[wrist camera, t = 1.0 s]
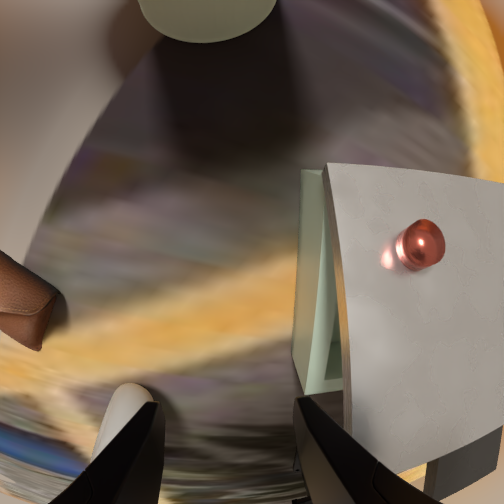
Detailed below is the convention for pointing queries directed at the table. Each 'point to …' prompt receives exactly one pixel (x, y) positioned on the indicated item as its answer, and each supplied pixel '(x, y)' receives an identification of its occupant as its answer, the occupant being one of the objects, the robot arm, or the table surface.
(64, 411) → the table surface
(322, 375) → the shallow mint tray
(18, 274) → the sunglasses case
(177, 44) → the table surface
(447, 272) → the lid
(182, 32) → the can
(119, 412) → the donut
